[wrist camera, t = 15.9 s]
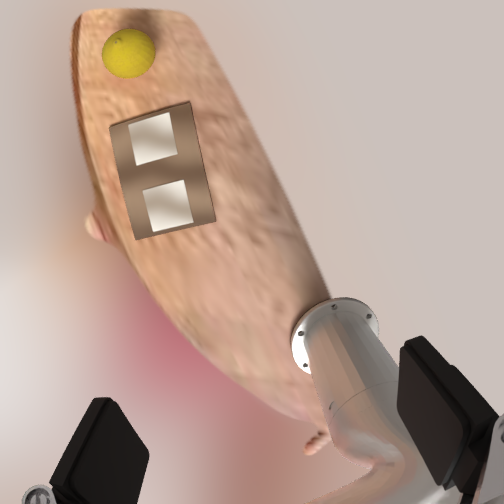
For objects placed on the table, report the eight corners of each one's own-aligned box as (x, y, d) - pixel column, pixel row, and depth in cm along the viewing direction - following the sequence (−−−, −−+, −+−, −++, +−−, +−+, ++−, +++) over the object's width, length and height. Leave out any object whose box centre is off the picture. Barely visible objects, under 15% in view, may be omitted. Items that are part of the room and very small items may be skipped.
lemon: (133, 38, 28) (110, 13, 20) (170, 52, 29) (154, 26, 21) (110, 76, 29) (81, 59, 22) (146, 91, 30) (123, 74, 23)
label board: (216, 221, 35) (215, 221, 35) (136, 239, 35) (135, 240, 35) (190, 103, 31) (189, 102, 31) (109, 127, 31) (108, 127, 31)
